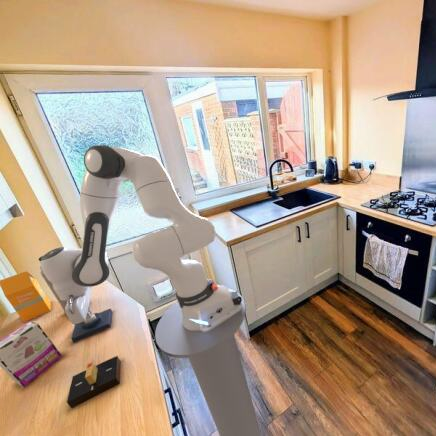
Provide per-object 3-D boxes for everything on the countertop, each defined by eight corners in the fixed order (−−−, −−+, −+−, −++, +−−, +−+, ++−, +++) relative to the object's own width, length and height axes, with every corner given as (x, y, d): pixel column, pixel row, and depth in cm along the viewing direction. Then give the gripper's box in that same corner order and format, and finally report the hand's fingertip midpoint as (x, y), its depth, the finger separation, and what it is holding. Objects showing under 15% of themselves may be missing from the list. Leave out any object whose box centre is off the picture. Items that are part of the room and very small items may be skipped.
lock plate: (120, 361, 83) (117, 354, 81) (119, 384, 75) (115, 377, 74) (77, 382, 77) (72, 375, 76) (71, 409, 70) (66, 402, 69)
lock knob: (95, 382, 73) (90, 374, 72) (90, 385, 73) (84, 377, 71) (97, 369, 77) (92, 361, 76) (92, 371, 77) (87, 363, 75)
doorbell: (112, 312, 105) (108, 305, 104) (111, 327, 97) (106, 320, 96) (78, 325, 100) (73, 318, 98) (73, 343, 92) (68, 335, 90)
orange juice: (25, 313, 111) (-1, 277, 102) (50, 302, 116) (28, 267, 108) (23, 322, 105) (-4, 285, 97) (50, 310, 110) (26, 274, 102)
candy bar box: (54, 353, 88) (30, 320, 82) (63, 356, 87) (39, 322, 80) (15, 384, 79) (-17, 349, 72) (24, 388, 77) (-7, 353, 71)
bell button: (96, 315, 99) (94, 312, 99) (95, 321, 97) (93, 317, 96) (85, 319, 98) (84, 316, 97) (84, 325, 95) (82, 322, 94)
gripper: (78, 301, 84) (95, 330, 90) (87, 272, 101) (101, 298, 106) (55, 309, 81) (74, 338, 87) (68, 278, 98) (83, 304, 103)
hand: (89, 316), depth 97 cm, fingers closed, pressing on bell button
